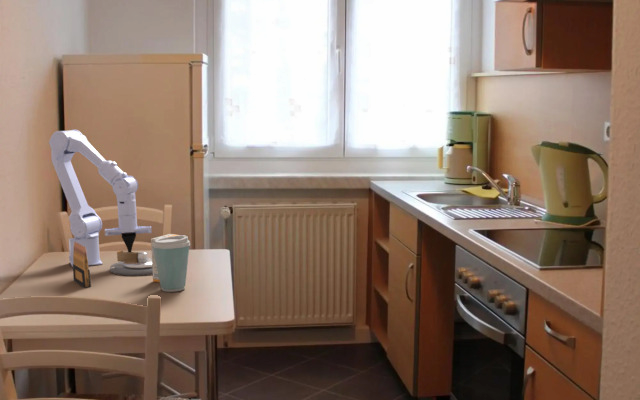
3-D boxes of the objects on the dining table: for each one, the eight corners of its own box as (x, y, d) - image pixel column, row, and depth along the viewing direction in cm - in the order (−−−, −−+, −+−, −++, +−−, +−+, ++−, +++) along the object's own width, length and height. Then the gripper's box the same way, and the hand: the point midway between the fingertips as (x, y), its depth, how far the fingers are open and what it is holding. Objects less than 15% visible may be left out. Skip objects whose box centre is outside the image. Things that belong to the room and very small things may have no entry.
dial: (168, 261, 249) (167, 249, 248) (151, 269, 237) (150, 257, 237) (128, 259, 252) (127, 247, 252) (109, 267, 241) (108, 255, 240)
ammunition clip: (73, 280, 230) (71, 241, 228) (79, 279, 231) (77, 240, 229) (84, 288, 221) (82, 247, 219) (90, 287, 222) (88, 246, 220)
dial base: (115, 278, 232) (115, 274, 231) (106, 265, 250) (106, 261, 250) (181, 271, 239) (181, 267, 239) (167, 259, 258) (167, 255, 257)
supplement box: (170, 275, 235) (169, 233, 233) (182, 277, 232) (181, 234, 230) (151, 281, 228) (150, 238, 226) (164, 283, 225) (162, 239, 223)
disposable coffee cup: (155, 295, 212) (153, 242, 210) (152, 286, 222) (150, 235, 220) (194, 292, 215) (192, 239, 213) (189, 283, 225) (187, 232, 223)
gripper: (150, 211, 251) (152, 252, 253) (104, 214, 248) (107, 255, 250) (150, 214, 244) (153, 256, 246) (103, 217, 241) (106, 259, 243)
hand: (129, 256), depth 248 cm, fingers closed, pressing on dial
